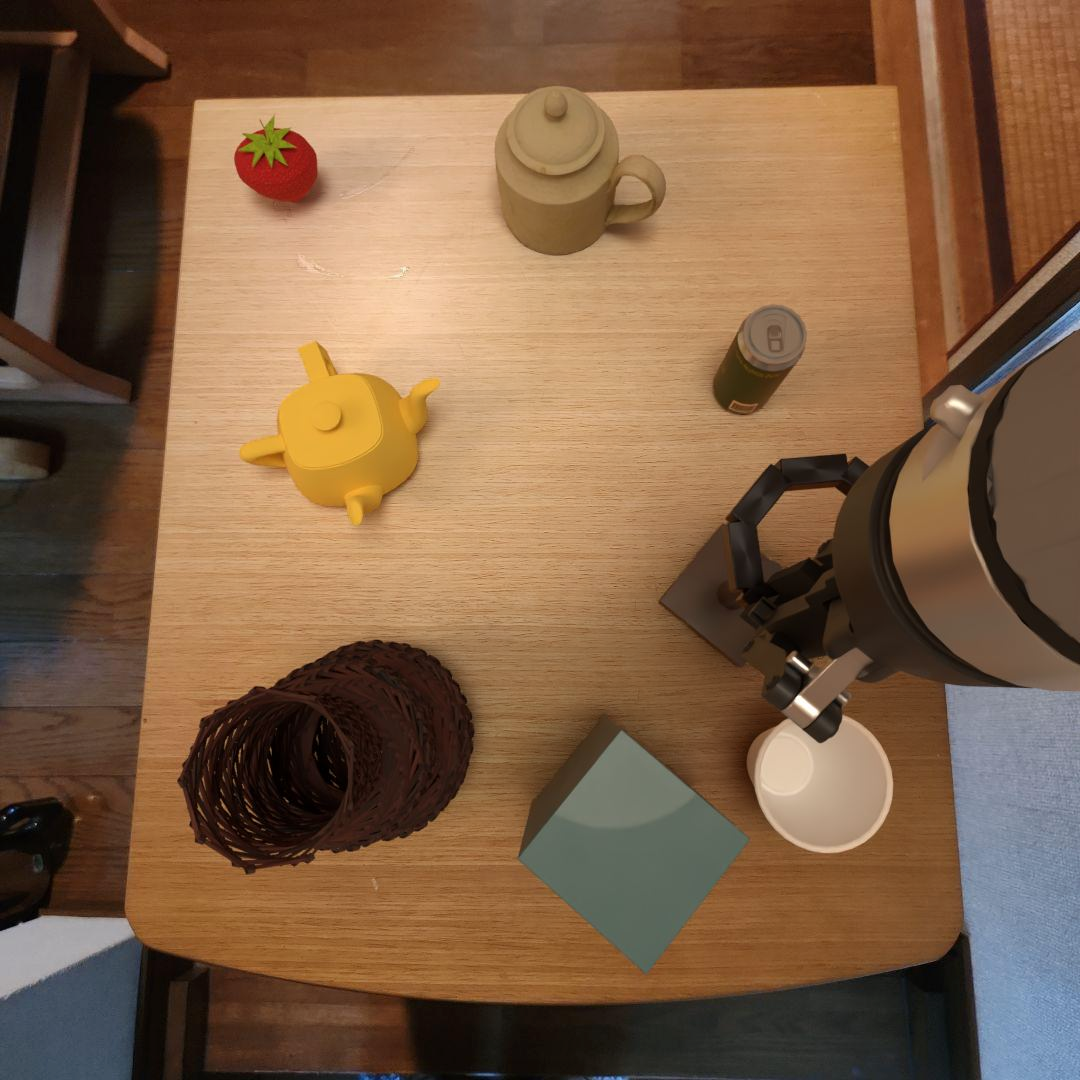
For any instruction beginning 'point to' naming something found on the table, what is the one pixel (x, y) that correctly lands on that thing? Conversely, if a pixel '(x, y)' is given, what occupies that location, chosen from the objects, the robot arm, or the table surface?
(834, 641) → the robot arm
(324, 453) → the teapot
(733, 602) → the holder
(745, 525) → the ring
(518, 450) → the table surface
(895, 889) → the table surface
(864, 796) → the cup
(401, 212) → the table surface
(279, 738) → the vase
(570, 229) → the lidded mug
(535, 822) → the stand
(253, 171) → the strawberry
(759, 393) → the beer can
